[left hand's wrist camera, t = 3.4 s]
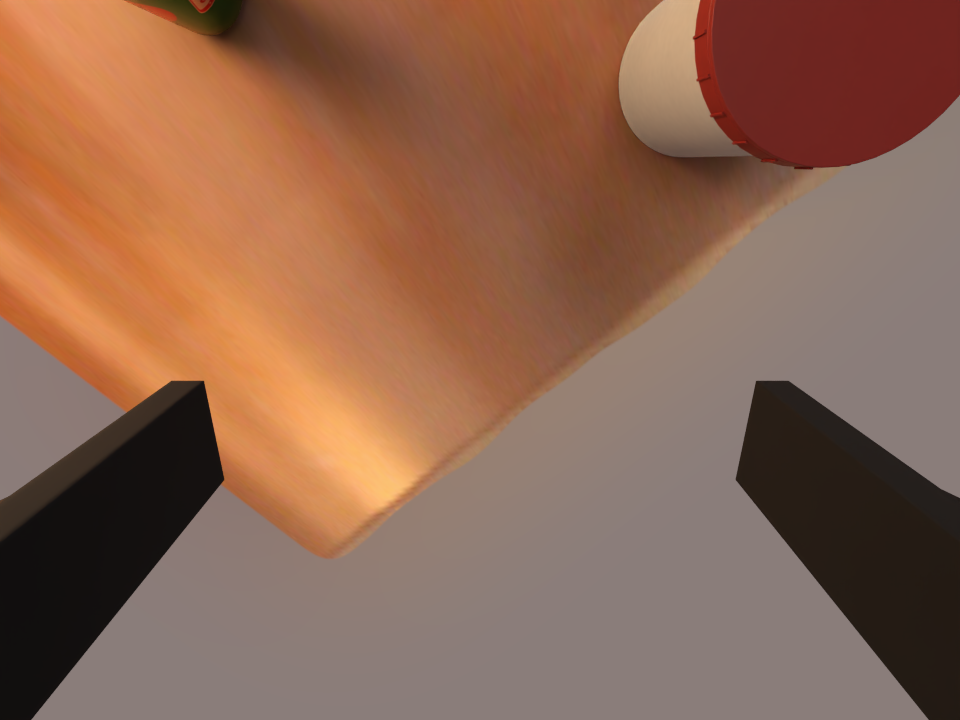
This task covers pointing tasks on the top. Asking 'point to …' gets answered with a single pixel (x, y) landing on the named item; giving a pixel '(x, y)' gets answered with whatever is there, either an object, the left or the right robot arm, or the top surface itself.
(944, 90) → the lid
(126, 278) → the top surface
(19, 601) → the left robot arm
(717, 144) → the screw-top jar
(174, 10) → the soda can
